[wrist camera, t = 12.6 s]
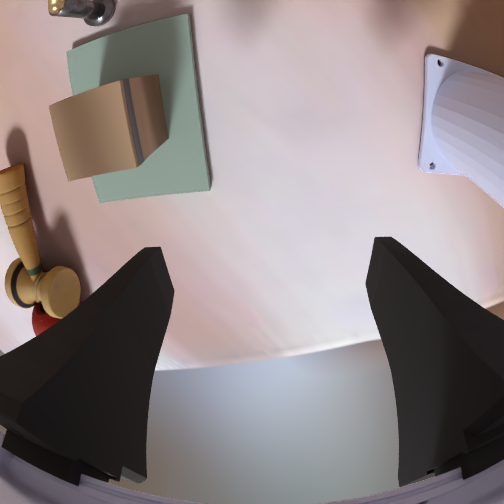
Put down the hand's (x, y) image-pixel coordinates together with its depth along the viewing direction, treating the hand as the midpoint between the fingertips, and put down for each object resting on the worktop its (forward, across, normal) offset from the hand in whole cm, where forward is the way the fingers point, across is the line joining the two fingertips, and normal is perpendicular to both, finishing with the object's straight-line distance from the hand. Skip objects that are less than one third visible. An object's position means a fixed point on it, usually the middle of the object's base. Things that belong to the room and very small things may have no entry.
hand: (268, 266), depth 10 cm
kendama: (+10, +20, +5) cm, 23 cm away
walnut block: (+9, +8, -5) cm, 12 cm away
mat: (+9, +8, -4) cm, 13 cm away
